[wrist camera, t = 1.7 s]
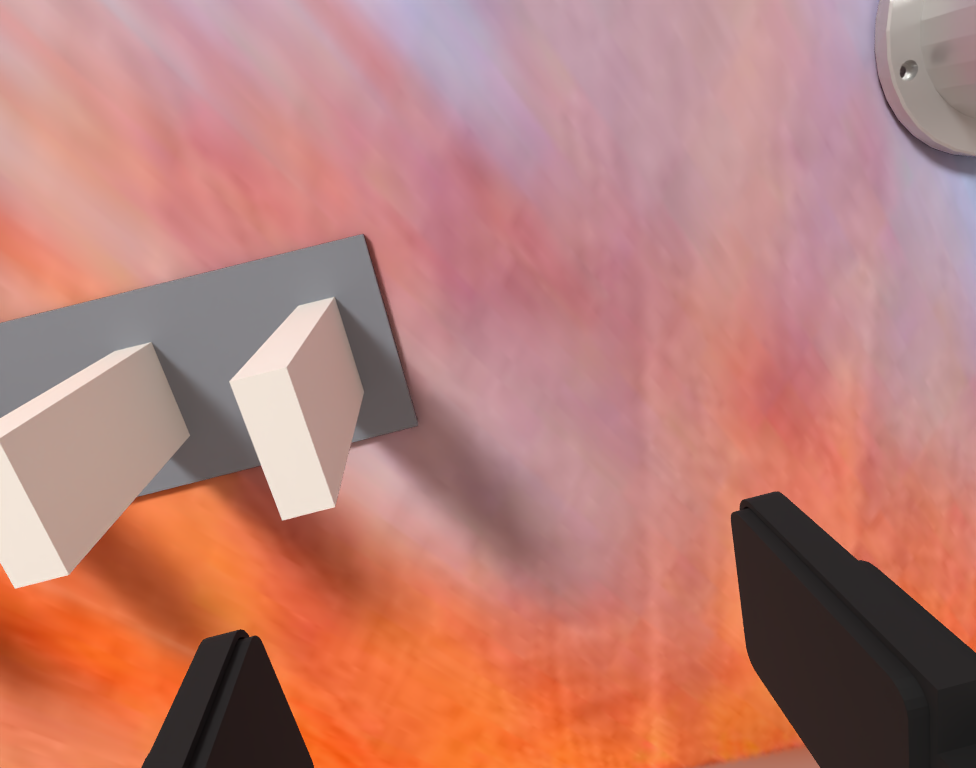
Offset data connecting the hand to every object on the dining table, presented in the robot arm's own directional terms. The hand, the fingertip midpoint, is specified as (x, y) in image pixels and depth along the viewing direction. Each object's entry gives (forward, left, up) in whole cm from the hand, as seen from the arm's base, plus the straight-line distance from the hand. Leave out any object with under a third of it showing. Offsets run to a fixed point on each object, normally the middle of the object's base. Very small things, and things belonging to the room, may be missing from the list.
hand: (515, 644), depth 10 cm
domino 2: (+4, +4, -24) cm, 24 cm away
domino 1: (+11, +11, -24) cm, 28 cm away
